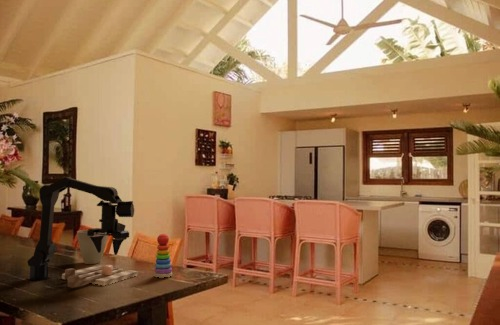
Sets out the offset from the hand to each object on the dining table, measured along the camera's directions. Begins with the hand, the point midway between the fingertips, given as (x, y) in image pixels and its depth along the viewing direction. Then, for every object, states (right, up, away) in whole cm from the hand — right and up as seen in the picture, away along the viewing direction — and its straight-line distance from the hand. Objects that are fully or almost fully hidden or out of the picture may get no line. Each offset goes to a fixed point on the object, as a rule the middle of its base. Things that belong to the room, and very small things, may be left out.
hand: (107, 253), depth 179 cm
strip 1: (-10, -10, +5) cm, 15 cm away
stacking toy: (+22, -12, +8) cm, 26 cm away
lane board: (-4, -11, +4) cm, 12 cm away
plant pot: (-19, -12, +33) cm, 40 cm away
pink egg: (0, -9, 0) cm, 9 cm away
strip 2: (-4, -10, -7) cm, 13 cm away
